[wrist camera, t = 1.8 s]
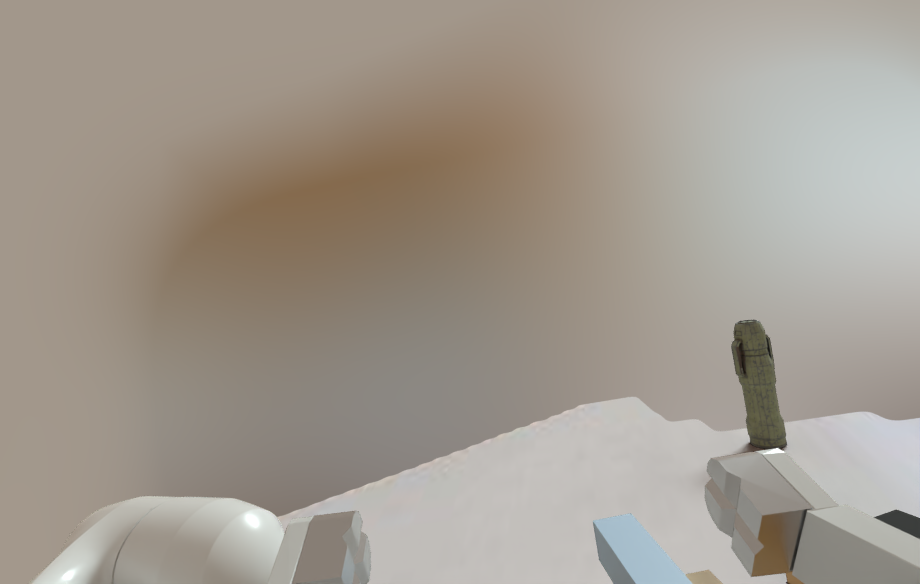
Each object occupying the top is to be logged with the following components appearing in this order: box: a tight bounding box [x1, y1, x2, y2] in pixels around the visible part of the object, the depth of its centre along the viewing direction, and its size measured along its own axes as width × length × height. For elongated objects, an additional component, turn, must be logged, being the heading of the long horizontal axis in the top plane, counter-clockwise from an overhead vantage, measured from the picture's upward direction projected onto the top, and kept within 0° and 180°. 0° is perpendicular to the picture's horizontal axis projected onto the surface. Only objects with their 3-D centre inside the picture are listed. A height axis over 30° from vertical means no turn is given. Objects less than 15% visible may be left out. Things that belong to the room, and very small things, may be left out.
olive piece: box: [731, 320, 787, 449], centre depth 127 cm, size 9×12×35 cm
